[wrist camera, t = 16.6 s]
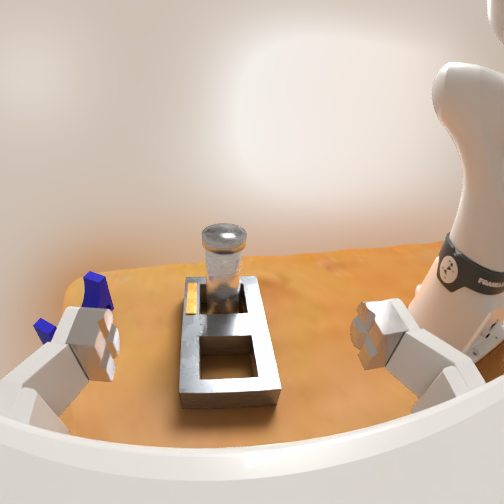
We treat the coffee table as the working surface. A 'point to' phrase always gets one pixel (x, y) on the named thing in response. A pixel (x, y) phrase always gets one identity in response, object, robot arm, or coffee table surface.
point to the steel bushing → (223, 266)
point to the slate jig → (226, 350)
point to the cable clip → (93, 298)
